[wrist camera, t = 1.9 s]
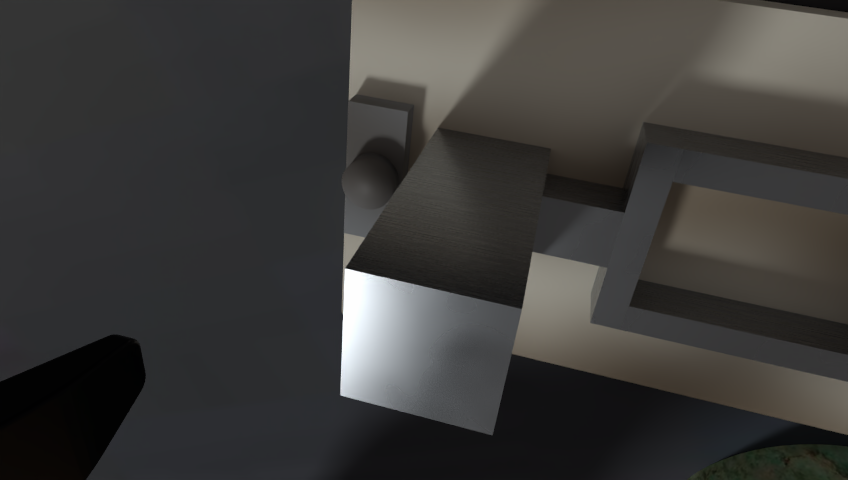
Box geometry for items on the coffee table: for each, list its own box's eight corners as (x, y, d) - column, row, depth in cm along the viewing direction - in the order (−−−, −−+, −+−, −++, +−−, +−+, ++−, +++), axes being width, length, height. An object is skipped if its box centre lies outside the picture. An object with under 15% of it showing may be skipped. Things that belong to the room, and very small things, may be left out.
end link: (893, 360, 16) (1060, 631, 10) (423, 255, 18) (339, 433, 12) (1012, 186, 13) (1333, 422, 8) (442, 86, 15) (347, 211, 10)
